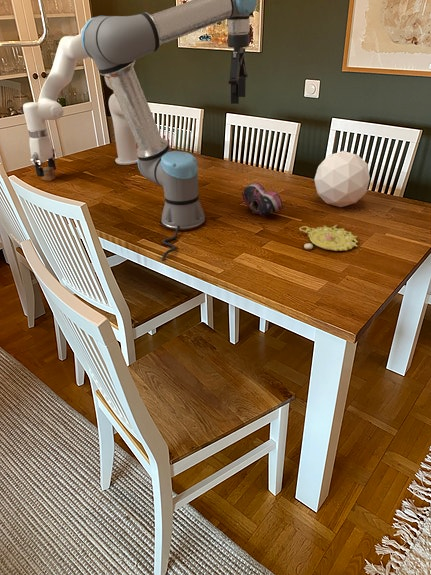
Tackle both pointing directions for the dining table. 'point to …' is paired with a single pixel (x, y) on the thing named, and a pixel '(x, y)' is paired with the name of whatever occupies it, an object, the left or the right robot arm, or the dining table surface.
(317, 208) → the dining table surface
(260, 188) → the athletic shoe
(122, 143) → the left robot arm
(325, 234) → the decorative object
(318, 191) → the sphere
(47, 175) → the block
